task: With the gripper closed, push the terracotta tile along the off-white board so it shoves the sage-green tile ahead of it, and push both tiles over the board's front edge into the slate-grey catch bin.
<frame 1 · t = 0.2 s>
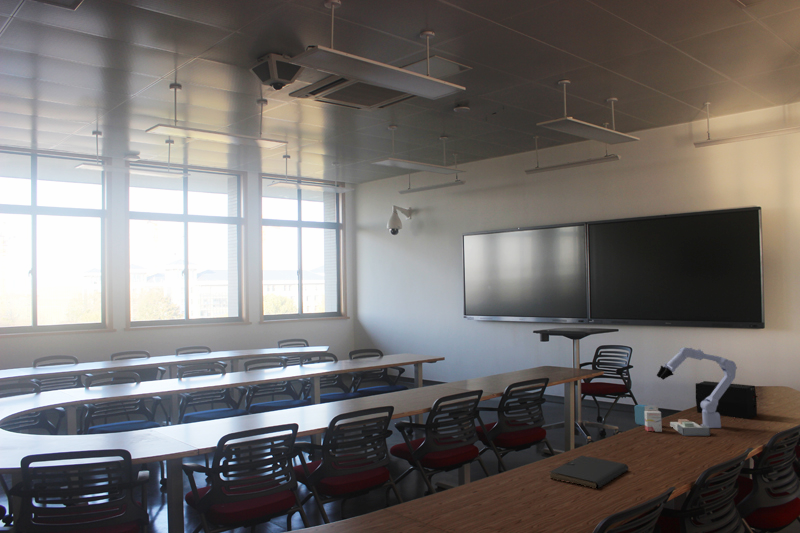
hand: (659, 377, 354), 31 cm above the table, tool tilted 45°, fingers open, 7 cm apart
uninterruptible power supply: (727, 414, 379), on the table
catch bin: (693, 433, 333), on the table
green tile: (687, 425, 342), point 2 cm above the table, touching ledge board
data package: (645, 425, 359), on the table
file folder: (589, 476, 266), on the table
ledge board: (686, 428, 345), on the table
terracotta tile: (684, 423, 348), point 2 cm above the table, touching ledge board
ink cartridge box: (653, 431, 343), on the table
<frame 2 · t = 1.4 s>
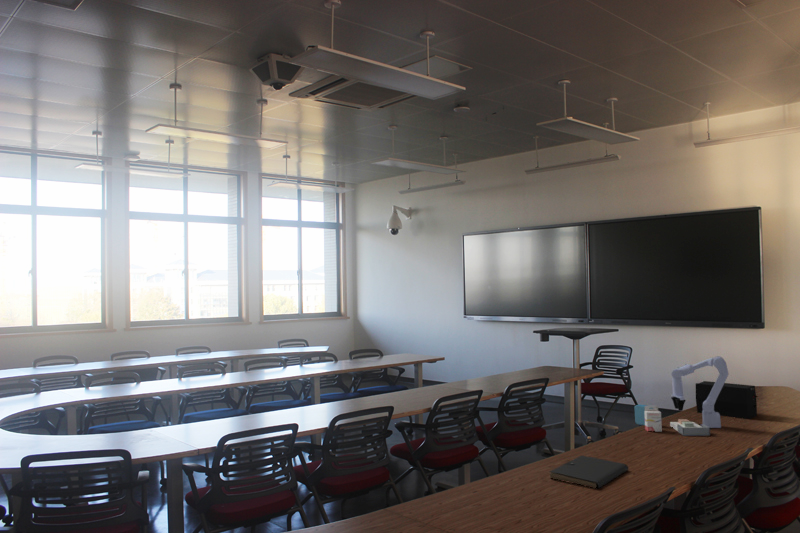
hand: (678, 409, 356), 9 cm above the table, tool pointing down, fingers open, 6 cm apart
nothing on the table moved.
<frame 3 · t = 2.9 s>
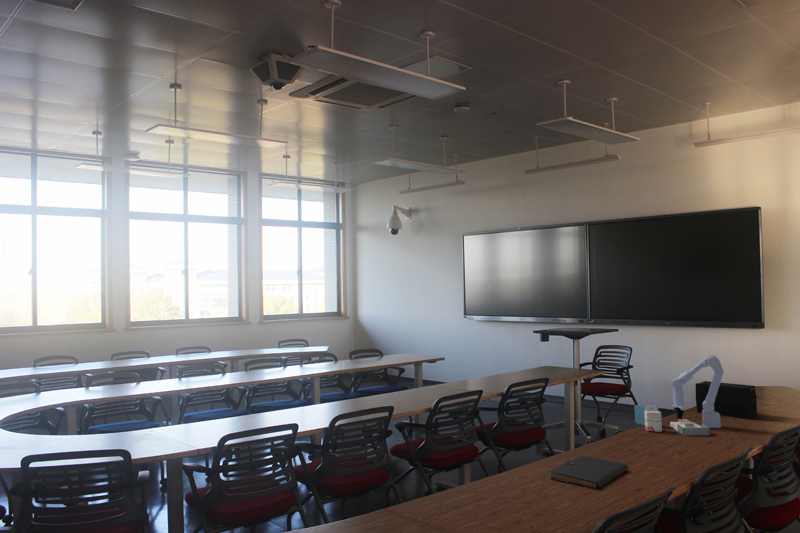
hand: (679, 419, 356), 3 cm above the table, tool pointing down, fingers closed
nothing on the table moved.
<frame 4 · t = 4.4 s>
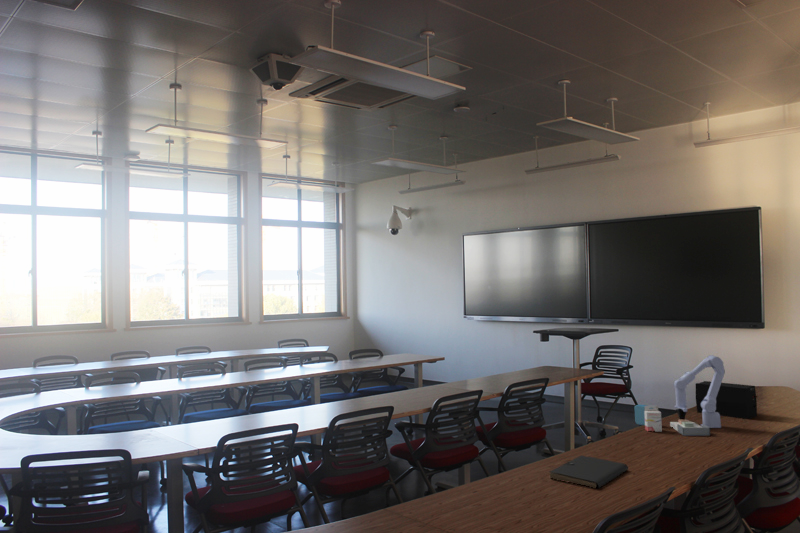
hand: (682, 421, 351), 3 cm above the table, tool pointing down, fingers closed
terracotta tile: (684, 423, 348), point 3 cm above the table, touching gripper
everything else where it was.
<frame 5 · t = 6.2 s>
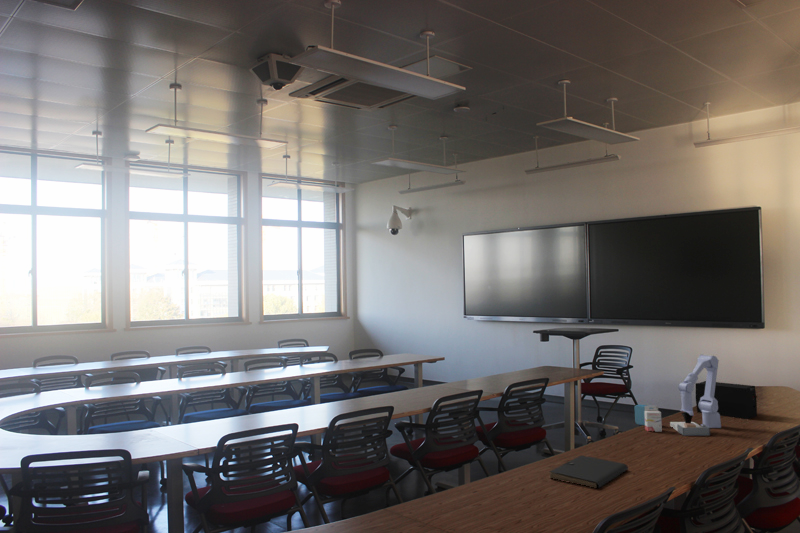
hand: (688, 424, 341), 3 cm above the table, tool pointing down, fingers closed
green tile: (693, 432, 333), resting on catch bin
terracotta tile: (690, 427, 338), point 3 cm above the table, touching gripper
everything else where it was.
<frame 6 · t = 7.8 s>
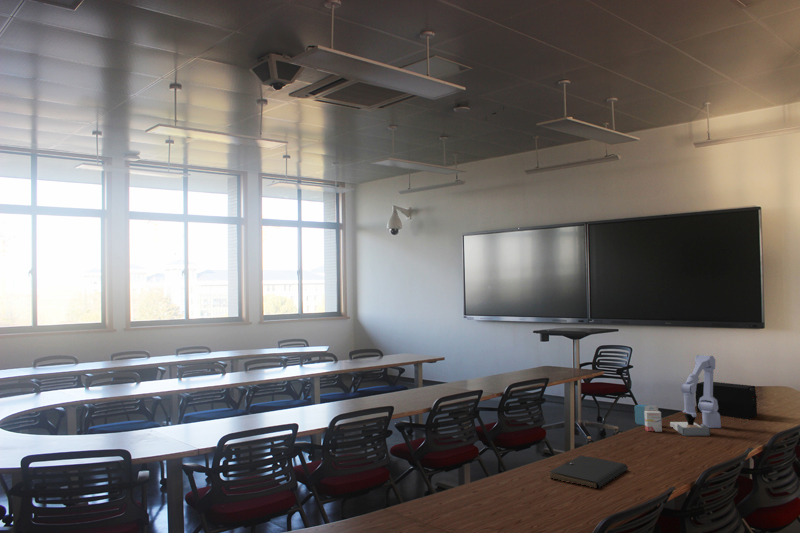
hand: (690, 426, 337), 3 cm above the table, tool pointing down, fingers closed
green tile: (693, 432, 333), resting on catch bin, touching terracotta tile
terracotta tile: (693, 429, 333), point 2 cm above the table, touching green tile, gripper
everything else where it was.
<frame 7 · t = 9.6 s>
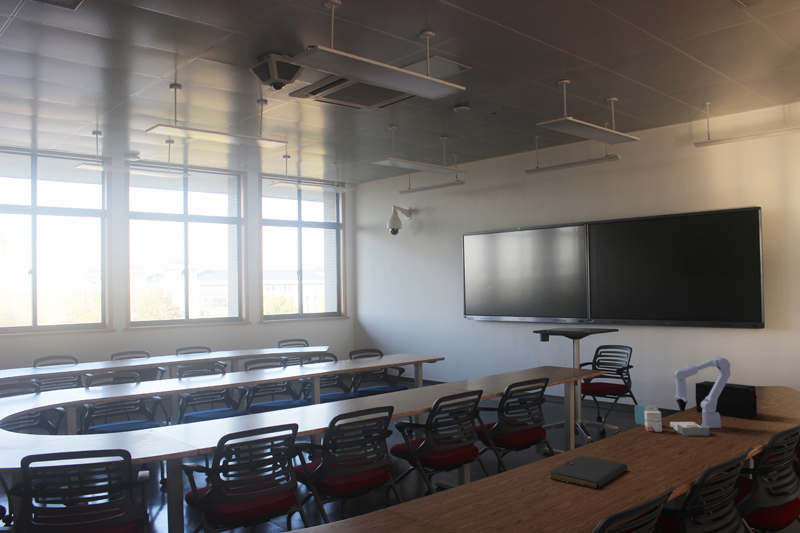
hand: (682, 411, 351), 9 cm above the table, tool pointing down, fingers closed
terracotta tile: (693, 429, 333), point 2 cm above the table, touching green tile
everything else where it was.
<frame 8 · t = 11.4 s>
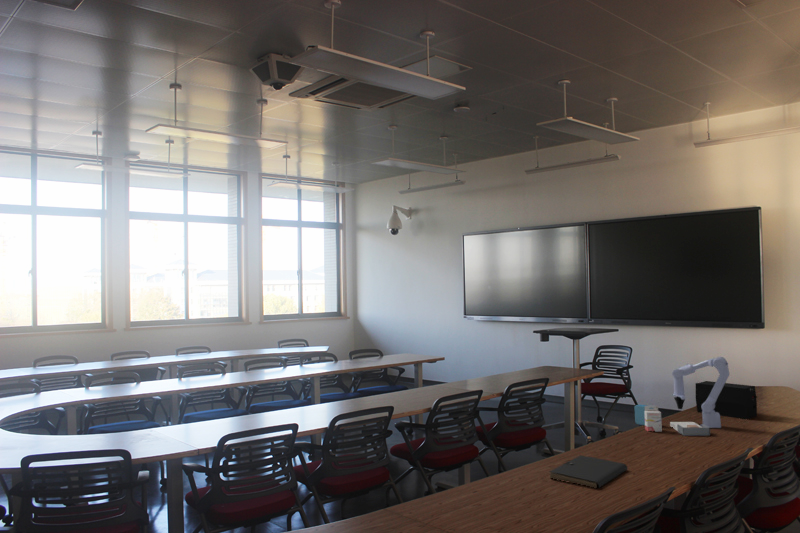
hand: (680, 408, 358), 9 cm above the table, tool pointing down, fingers closed
nothing on the table moved.
at the end: terracotta tile inside the target area on the catch bin (0.5 cm from its centre), point 2.5 cm above the catch bin's base; green tile inside the target area on the catch bin (0.6 cm from its centre), point 0.5 cm above the catch bin's base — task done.
